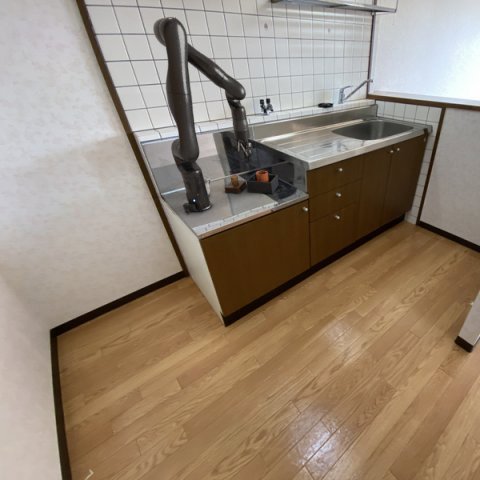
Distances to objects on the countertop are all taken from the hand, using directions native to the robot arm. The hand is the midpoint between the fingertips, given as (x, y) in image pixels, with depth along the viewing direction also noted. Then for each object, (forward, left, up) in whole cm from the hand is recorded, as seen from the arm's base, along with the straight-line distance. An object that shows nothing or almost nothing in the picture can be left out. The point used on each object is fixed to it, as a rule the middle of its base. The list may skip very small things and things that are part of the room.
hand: (246, 160), depth 145 cm
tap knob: (-1, +8, -14) cm, 16 cm away
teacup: (-12, +22, -17) cm, 30 cm away
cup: (+2, -7, -16) cm, 18 cm away
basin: (+2, -7, -17) cm, 18 cm away
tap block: (-1, +8, -17) cm, 19 cm away
